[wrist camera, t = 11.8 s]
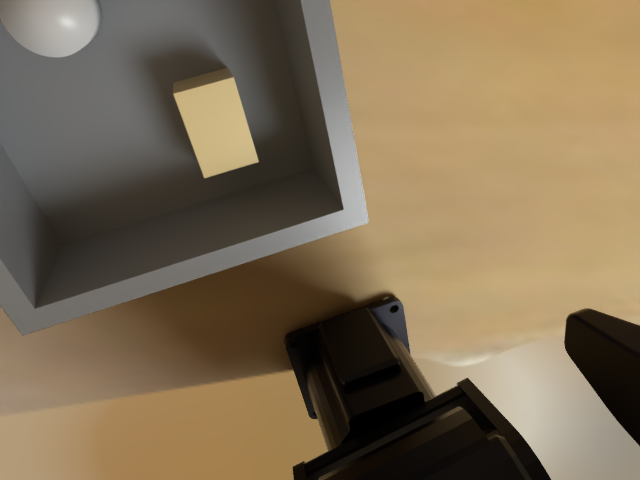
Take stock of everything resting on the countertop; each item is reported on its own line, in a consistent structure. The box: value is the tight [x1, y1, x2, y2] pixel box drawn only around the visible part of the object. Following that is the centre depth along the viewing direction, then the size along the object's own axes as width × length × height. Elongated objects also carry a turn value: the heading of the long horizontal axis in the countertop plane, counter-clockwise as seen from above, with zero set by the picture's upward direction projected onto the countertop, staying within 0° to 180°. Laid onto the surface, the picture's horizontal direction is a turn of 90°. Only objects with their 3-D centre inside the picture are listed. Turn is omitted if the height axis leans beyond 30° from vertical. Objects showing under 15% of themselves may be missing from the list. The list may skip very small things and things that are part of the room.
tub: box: [0, 0, 369, 336], centre depth 15 cm, size 12×12×5 cm
